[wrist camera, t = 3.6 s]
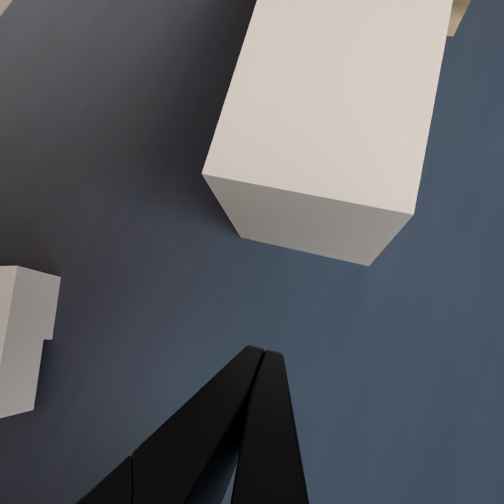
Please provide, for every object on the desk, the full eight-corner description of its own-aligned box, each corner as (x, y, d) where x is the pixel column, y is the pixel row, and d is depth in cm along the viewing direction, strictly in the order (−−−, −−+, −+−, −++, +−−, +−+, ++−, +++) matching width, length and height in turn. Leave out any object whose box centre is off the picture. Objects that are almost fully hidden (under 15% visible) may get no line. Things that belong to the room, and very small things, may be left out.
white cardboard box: (368, 266, 19) (413, 214, 11) (241, 237, 20) (201, 173, 12) (413, 44, 21) (475, -123, 14) (299, 32, 23) (296, -125, 15)
